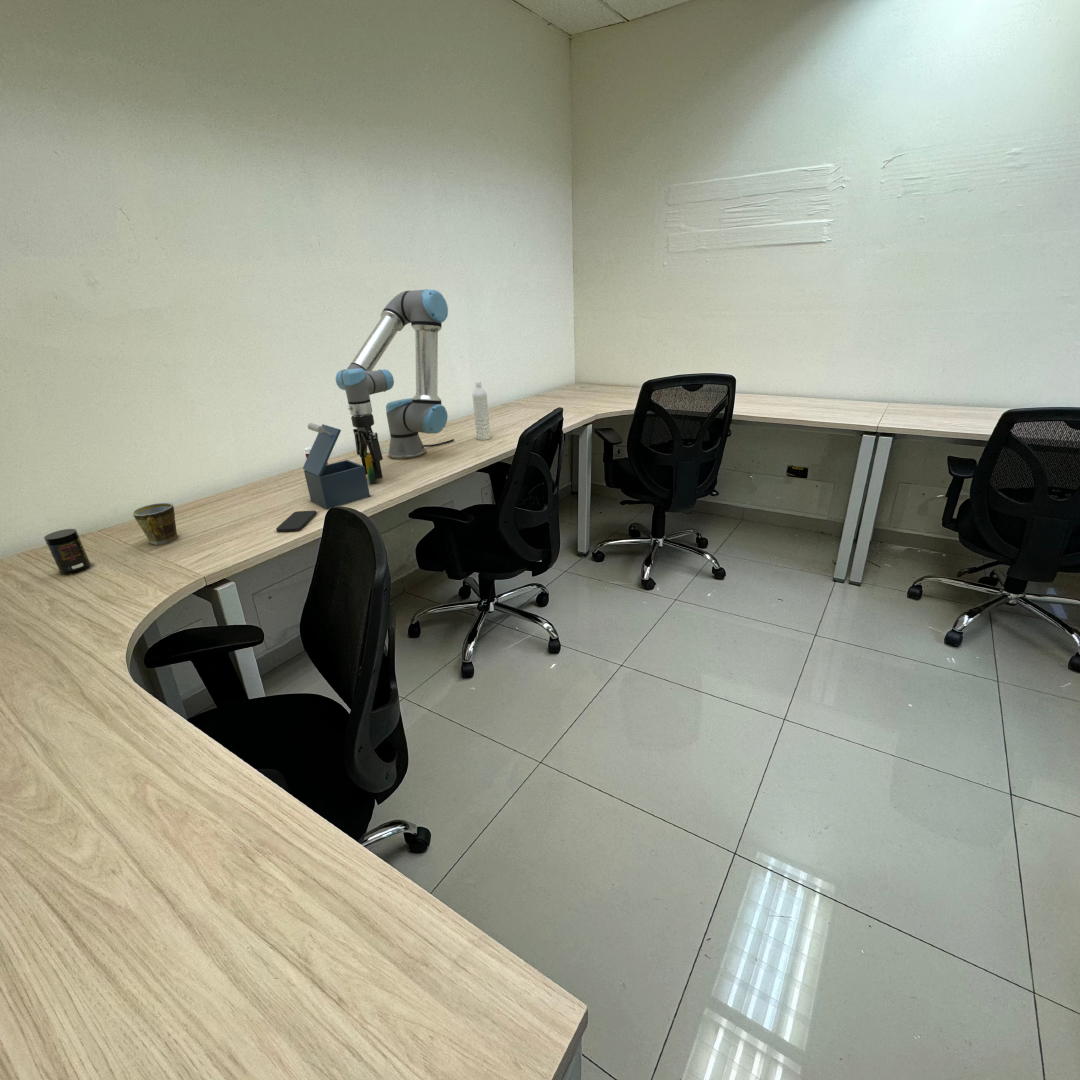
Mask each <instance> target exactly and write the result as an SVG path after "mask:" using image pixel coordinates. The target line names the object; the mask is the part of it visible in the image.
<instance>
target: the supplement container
mask: <svg viewBox="0 0 1080 1080" xmlns="http://www.w3.org/2000/svg"><path fill="white" fill-rule="evenodd" d="M43 540H44V541H45V544H46V545H47V547H48V549H49V552H50V554H51V556H52V558H53V560H54V563H55V565H56V566H57V568H58V572H60V573H61V574H63V575H74V574H78V573H80V572H84V571H85V570H87V569H89V568H90V567H91V560H90V559H89V556H88V554H87V551H86V550H85V547H84V545H83V543H82V540H81V538H80V535H79V533H78V530H77V529H76V528H65V529H60V530H56V531H53V532H50V533H47V534H46V535H45V536H43Z"/></svg>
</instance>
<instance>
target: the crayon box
mask: <svg viewBox="0 0 1080 1080" xmlns="http://www.w3.org/2000/svg"><path fill="white" fill-rule="evenodd" d="M365 452H366V454H365ZM365 452H364V457H365V462H366V468H367V474H368V475H367V480H368V483H369V484H376V483H378V480H379V479H375V476H374V470H373V465H372V462H371V461H373V459H372V457H371V454H370V452H368V447H367V448H366V450H365Z"/></svg>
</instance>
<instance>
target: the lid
mask: <svg viewBox="0 0 1080 1080" xmlns="http://www.w3.org/2000/svg"><path fill="white" fill-rule="evenodd" d="M307 429H308V430H310V431H313V432H316V433H317V435H316V436H315V437H316V438H315V439H314V441H313V444H312V445H311V446H312V449H311V451H310V453H309V455H308V457H307V458H306V460H305V462H304V465H303V467H302V470H303V471H304V470H306V471H308V472H311V473H313V474H315V475H317V476H320V477H321V475H322V472H323V470H324V468H325V466H326V463H328V461H329V459H330V456H331V455H332V452H333V450H334V447H335V446H336V443H337V441H338V439H339V436H340V435H341V432H342V430H341V429H340V428H336V427H333V426H330V425H327V424H324V423H323V424H321V425H318V424H316V423H312V422H309V423H308V424H307Z"/></svg>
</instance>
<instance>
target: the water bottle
mask: <svg viewBox="0 0 1080 1080" xmlns="http://www.w3.org/2000/svg"><path fill="white" fill-rule="evenodd" d="M488 403H489V402H488V393H487V392H486V390H485V389H484V387H482V381H475V387H474V390H473V392H472V404H473V416H474V425H475V435H476V439H477V440H478V441H487V440H490V439H491V438H492V437H491V426H490V425H491V424H490V416H489V415H490V414H489V413H490V412H489V405H488Z"/></svg>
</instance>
